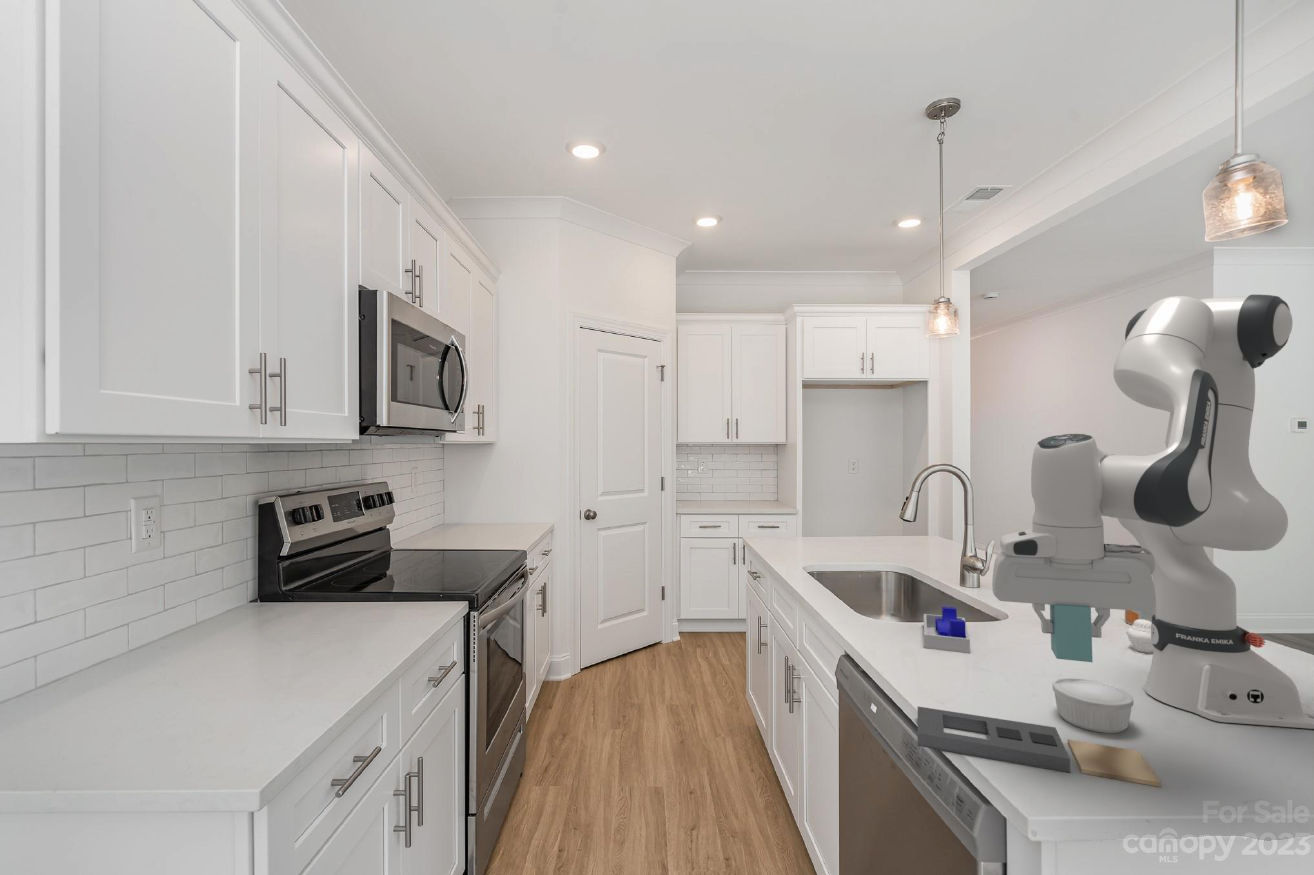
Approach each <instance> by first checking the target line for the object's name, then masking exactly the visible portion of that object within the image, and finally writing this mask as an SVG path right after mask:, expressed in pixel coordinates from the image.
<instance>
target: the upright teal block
mask: <svg viewBox="0 0 1314 875" xmlns="http://www.w3.org/2000/svg"><path fill="white" fill-rule="evenodd" d="M1049 618H1050V620H1052V621H1053V622H1054V628H1053V629H1054V634H1050V648H1051V651H1052V653H1053V654H1054V656H1055V658H1056V659H1057V660H1065V661H1077V662H1086V663H1093V637H1092V630H1091V623H1092V608H1091V607H1090V606H1076V605H1062V604H1054V605H1049Z"/></svg>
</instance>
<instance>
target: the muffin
mask: <svg viewBox="0 0 1314 875" xmlns="http://www.w3.org/2000/svg"><path fill="white" fill-rule="evenodd" d="M1151 624H1152V622H1150V621H1148V620H1144V619H1138V620H1135V621H1134V623H1133V625H1131V626H1129V627H1128V628H1127V629H1126V631H1125V634H1126V636H1127V639H1128V640H1129V642H1130V644H1131V645H1132V647H1133V649H1134V650H1135V651H1138V652H1139V653H1140V652H1141V653H1147V654H1153V650H1154V646H1153V645H1152V640H1151Z"/></svg>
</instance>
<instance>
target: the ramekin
mask: <svg viewBox="0 0 1314 875" xmlns="http://www.w3.org/2000/svg"><path fill="white" fill-rule="evenodd" d="M1051 687H1052V691H1053V692H1054V697H1055V699H1054V700H1055V703H1056V709H1057V712H1058V713H1059V715H1060V717H1062V719H1064V721H1066V722H1067V721H1068V722H1067V723H1070V724H1071V725H1073V726H1075V727H1078V728H1081V729H1084V730H1086V731H1087V730H1088V731H1091V732H1096V733H1104V734H1116V733H1117V734H1119V733H1121V732H1123V731H1125V730H1126V729H1127V728H1128V726H1129V724H1130V719H1131V714H1132V713H1131V712H1132V707H1133V706H1134V704H1135V702H1134V696H1132V694H1131V693H1129V692H1128V691H1126V690H1125V689H1122V688H1121V687H1119V686H1116V685H1113V684H1109V683H1106V682H1103V681H1098V680H1094V679H1088V678H1082V677H1081V678H1080V677H1062V678H1057V679H1055V680H1054V681H1052V686H1051Z"/></svg>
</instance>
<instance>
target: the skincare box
mask: <svg viewBox="0 0 1314 875" xmlns="http://www.w3.org/2000/svg"><path fill="white" fill-rule="evenodd" d="M1154 614H1155V607H1154V608H1153V609H1152V610H1151V611H1134V610H1124V622H1125V623H1126V624H1129V626H1130V625H1131V626H1132V625H1133V623H1134V621H1135V620H1138V619H1144V620H1148V621H1150V622H1152V615H1154Z"/></svg>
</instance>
